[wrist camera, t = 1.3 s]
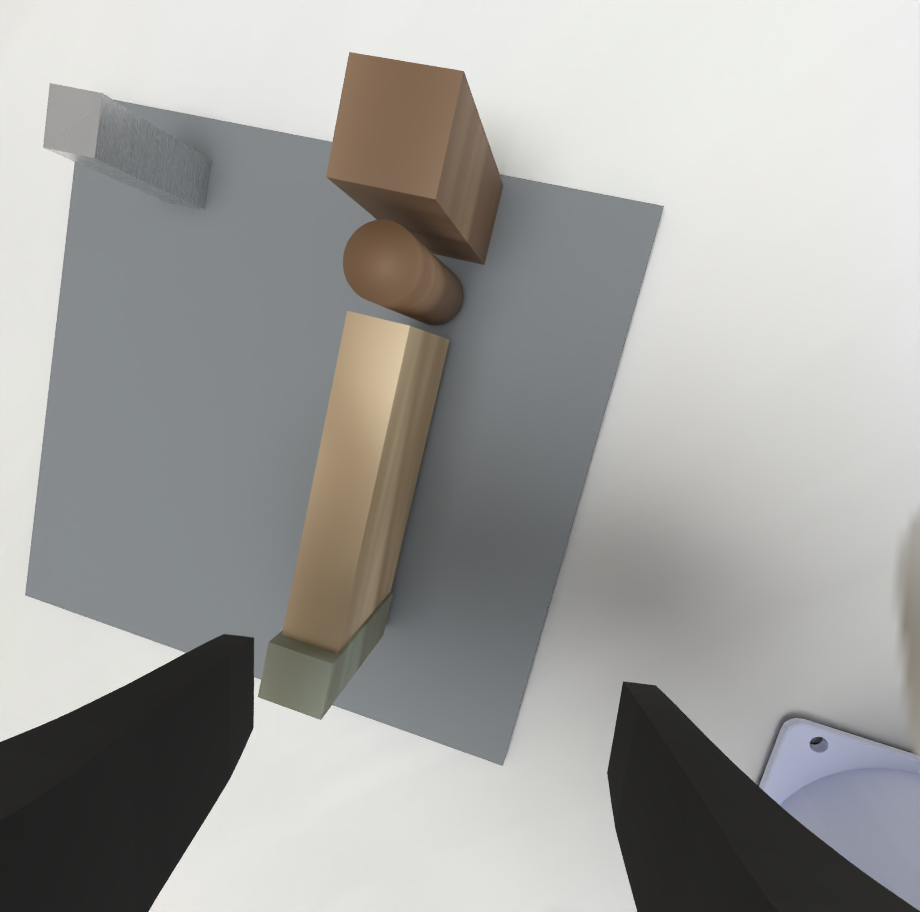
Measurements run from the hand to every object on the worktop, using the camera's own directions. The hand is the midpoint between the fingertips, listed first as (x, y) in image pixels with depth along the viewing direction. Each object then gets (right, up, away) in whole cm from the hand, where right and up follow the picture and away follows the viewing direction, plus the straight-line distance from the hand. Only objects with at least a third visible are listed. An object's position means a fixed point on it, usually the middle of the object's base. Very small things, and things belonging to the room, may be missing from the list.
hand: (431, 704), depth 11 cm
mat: (-5, +6, +9) cm, 12 cm away
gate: (-2, +5, +8) cm, 9 cm away
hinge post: (0, +12, +7) cm, 14 cm away
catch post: (-9, +14, +9) cm, 19 cm away
